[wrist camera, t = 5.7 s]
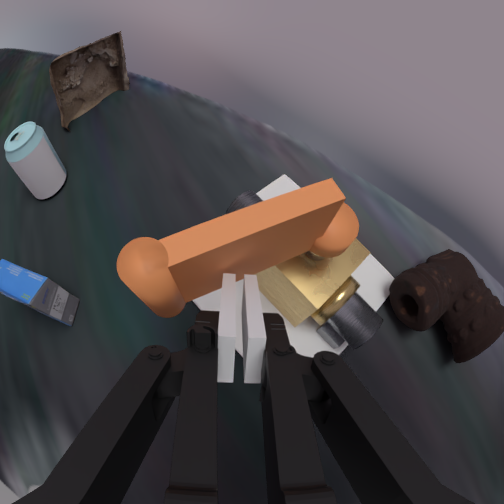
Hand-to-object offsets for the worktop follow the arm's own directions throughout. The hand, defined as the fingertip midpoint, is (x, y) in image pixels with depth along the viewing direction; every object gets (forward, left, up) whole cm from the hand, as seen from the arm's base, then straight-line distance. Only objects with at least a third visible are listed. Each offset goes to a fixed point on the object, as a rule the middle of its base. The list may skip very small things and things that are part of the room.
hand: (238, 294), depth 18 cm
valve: (0, -9, -16) cm, 18 cm away
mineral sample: (+50, -6, -16) cm, 53 cm away
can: (+37, +9, -16) cm, 41 cm away
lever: (+1, -3, -3) cm, 5 cm away
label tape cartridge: (+18, +17, -16) cm, 29 cm away
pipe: (-18, -22, -15) cm, 32 cm away
